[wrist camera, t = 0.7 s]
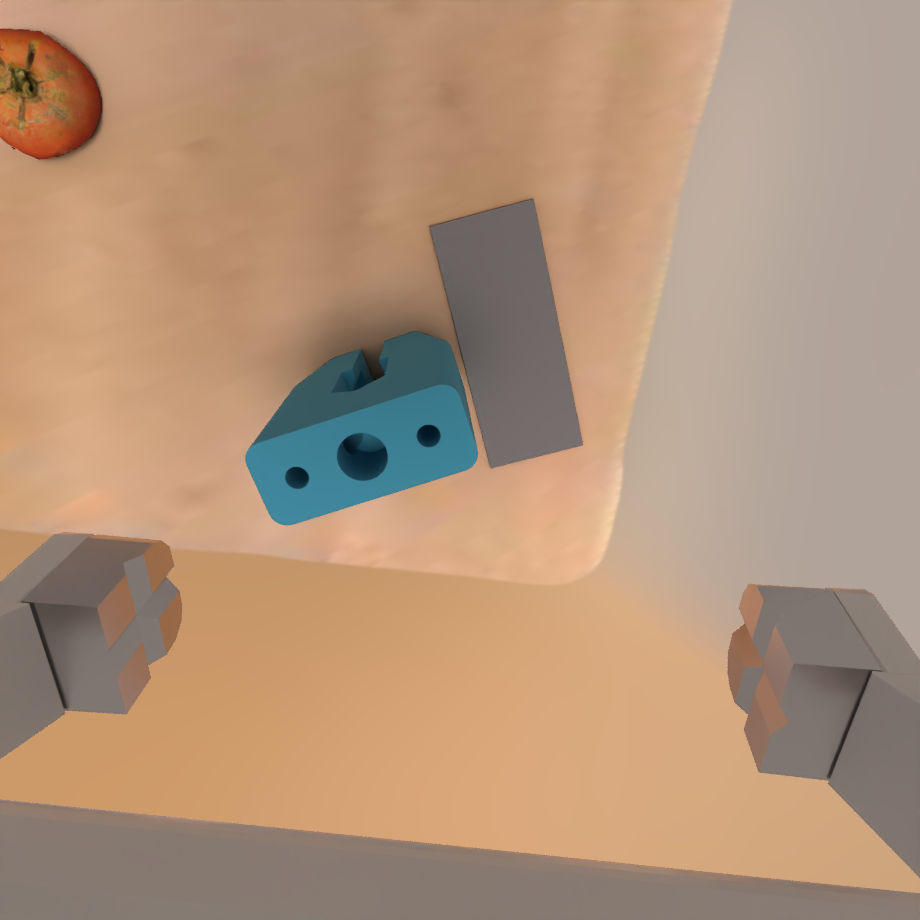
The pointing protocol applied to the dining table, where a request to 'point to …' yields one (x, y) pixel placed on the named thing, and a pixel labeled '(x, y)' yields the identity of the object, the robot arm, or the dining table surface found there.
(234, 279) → the dining table surface
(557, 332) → the mat
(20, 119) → the tomato
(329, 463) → the block
